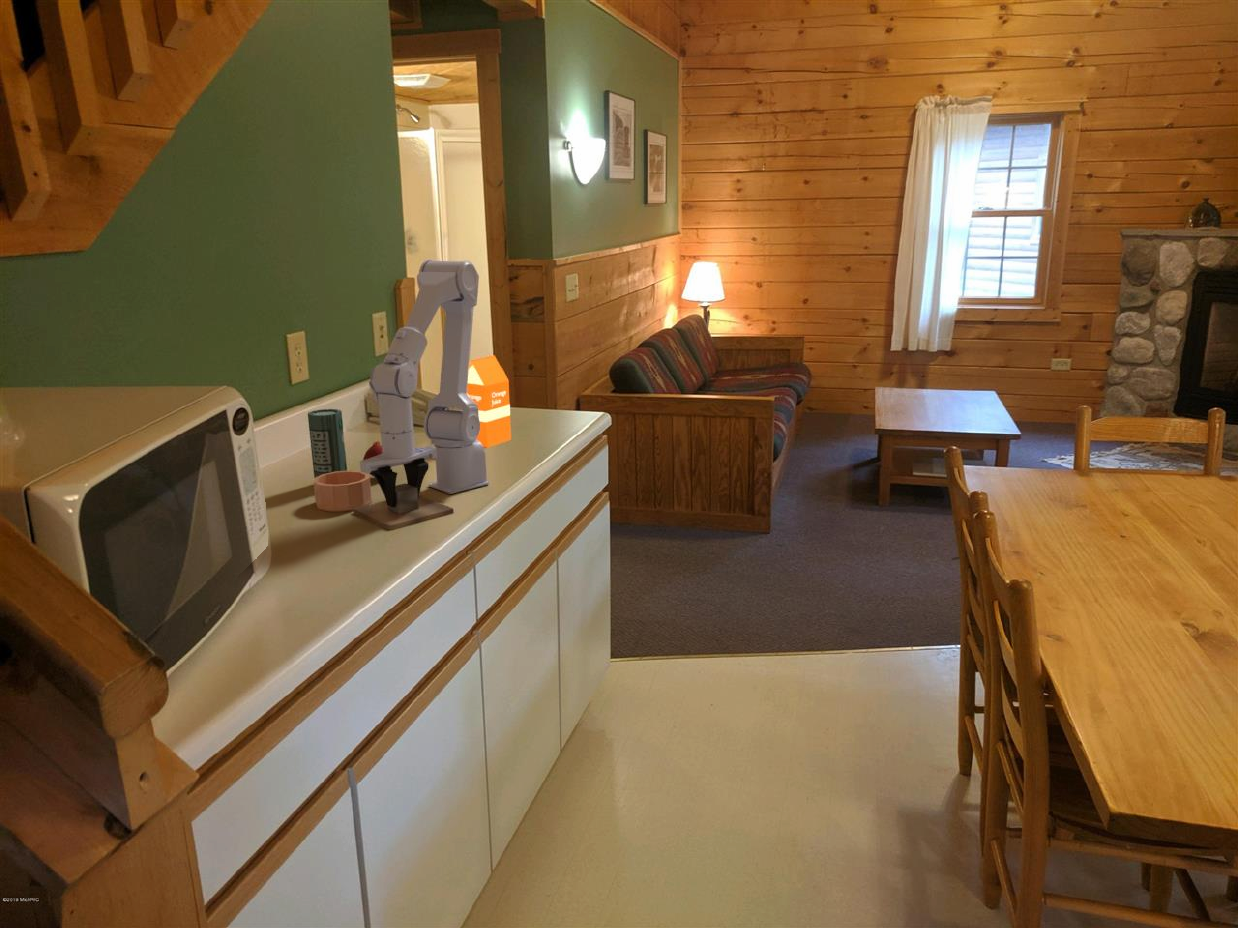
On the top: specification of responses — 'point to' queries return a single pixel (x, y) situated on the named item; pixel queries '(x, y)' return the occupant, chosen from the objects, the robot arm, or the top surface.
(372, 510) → the lid
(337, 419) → the can
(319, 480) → the pot
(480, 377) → the orange juice
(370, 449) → the onion
